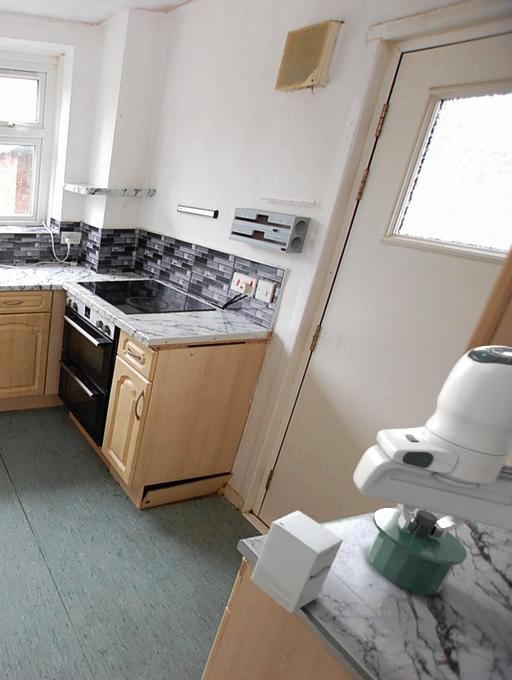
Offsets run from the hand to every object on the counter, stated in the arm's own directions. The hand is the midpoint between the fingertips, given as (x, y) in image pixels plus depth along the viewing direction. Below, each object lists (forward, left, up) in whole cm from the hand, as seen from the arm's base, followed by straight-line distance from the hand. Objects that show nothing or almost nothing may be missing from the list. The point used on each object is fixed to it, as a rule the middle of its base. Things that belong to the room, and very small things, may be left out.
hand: (419, 531), depth 70 cm
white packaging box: (+16, +5, -15) cm, 22 cm away
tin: (-6, -9, -15) cm, 19 cm away
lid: (0, 0, -1) cm, 1 cm away
